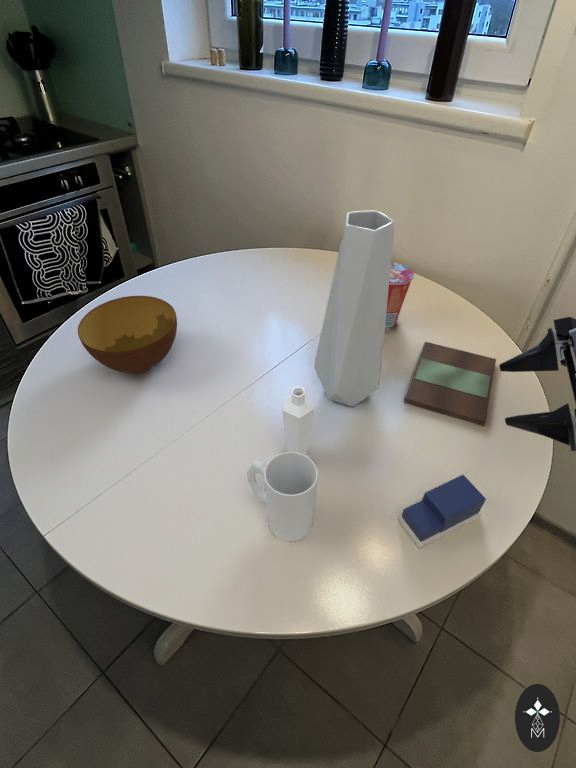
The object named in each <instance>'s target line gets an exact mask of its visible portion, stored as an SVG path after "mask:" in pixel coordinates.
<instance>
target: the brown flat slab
mask: <svg viewBox="0 0 576 768" xmlns="http://www.w3.org/2000/svg"><path fill="white" fill-rule="evenodd" d="M496 362H497V358H493V357H489V356H485V355H481V354H477V353H474V352H469V351H465V350H462V349H457V348H453V347H448V346H445V345H441V344H437V343H433V342H430V341H429V342H428V341H424V343H423V346H422V348H421V351H420V354H419V357H418V361H417V362H416V366H415V369H414V372H413V374H412V377H411V380H410V383H409V386H408V389H407V392H406V394H405V397H404V401H403V403H404V404H407V405H411V406H414V407H417V408H421V409H425V410H428V411H431V412H435V413H438V414H441V415H445V416H448V417H452V418H455V419H459V420H462V421H466V422H469V423H473V424H475V425H480V426H484V427H485V425H486V423H487V420H488V419H487V418H488V413H489V405H490V400H491V393H492V388H493V381H494V375H495V369H496Z"/></svg>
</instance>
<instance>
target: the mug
mask: <svg viewBox="0 0 576 768" xmlns="http://www.w3.org/2000/svg"><path fill="white" fill-rule="evenodd" d="M318 471H319V470H318V467H317V465H316V463H315V462H314V461H313V459H312V458H310V457H309V455H308V456H306V455H304V454H302V453H298V452H287V451H284V452H280V453H277V454H276V455H274V456H272V457H271V458H270V459H269V460H268V461H267V462H266V464H264V463H263V462H262V461H259V460H257V459H254V460H253V462H252V463H251V466H250V467H249V468H248V470H247V476H246V477H247V482H248V484H249V486H250V489H251V490H252V493H253V494H254V497H255V498H256V499H257V500H258V501H260V502H262V503H264V504H265V505H266V508H267V509H266V510H267V518H268V525H269V528H270V531H271V533H272V534H273V535H274V536H275V537H276V538H278V539H279V540H281V541H284V542H288V543H294V542H298V541H302V539H305V537H307V536H308V535H309V534H310V532H311V530H312V527H313V524H314V515H315V508H316V507H315V506H316V497H317V487H318V477H319V472H318ZM256 474H259V475H261V476H262V477H263V478H264V489H263V488H262V486H260V484H259V483H258V481H257V478H256Z"/></svg>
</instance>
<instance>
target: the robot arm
mask: <svg viewBox="0 0 576 768" xmlns="http://www.w3.org/2000/svg"><path fill="white" fill-rule="evenodd" d="M553 327H554V330H553ZM553 327H552V326H550V327H549V328H547V334H546V335H545V336H544V338H543V339H542V340H541V341H540V342H539V343H538V344H536V345H534V346H532V347H531V348H529V349H528V350H525V351H524V352H523V351H522V353H519V354H517V355H515V356H514V357H511V358H510V359H509V358H508V359H507V360H505V361H503V362H501V363H499V365H498V366H499V371H500V372H508V373H523V372H524V373H525V372H528V373H529V372H557V371H559V370H560V369H559V364H558V361H559V362H560V365H561V366H563V367H565V368H566V370H567V374H568V378H569V383H570V387H571V392H572V396H573V400H574V404H575V406H576V318H574V317H572V316H566V317H562V318H561V317H560V318H557V319H553ZM573 411H574V413H571V409H570V405H569V403H565V404H563V405H562V406H560V407H558V408H556V409H554V410H553V411H544V412H536V413H528V414H527V413H526V414H518V415H513V416H507V417H505V418H504V422H505V425H506V426H509V427H512V428H515V429H519V430H522V431H525V432H529V433H531V434H532V433H533V434H536V435H539V436H542V437H546V438H548V439H551V440H554V441H556V442H558V443H562V444H564V445H567V446H569V448H570V451H571V452H576V408H574V410H573Z"/></svg>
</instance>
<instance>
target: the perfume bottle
mask: <svg viewBox="0 0 576 768" xmlns="http://www.w3.org/2000/svg"><path fill="white" fill-rule="evenodd" d="M281 411H282V419H283V427H284V437H285V445H286V446H285V447H286V452H298V453H302V454H304V455H306V456H308V457H309V454H308V451H309V444H310V438H311V432H312V425H313V420H314V419H313V418H314V414H315V407H314V405H313V403H312V401H311V400H310V397H309V396H308V395H307V392H306V390H305V388H304V386H293V387H292V388H291V391H290V395H286V397H285V400H284V404H283V406H282V409H281Z"/></svg>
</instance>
